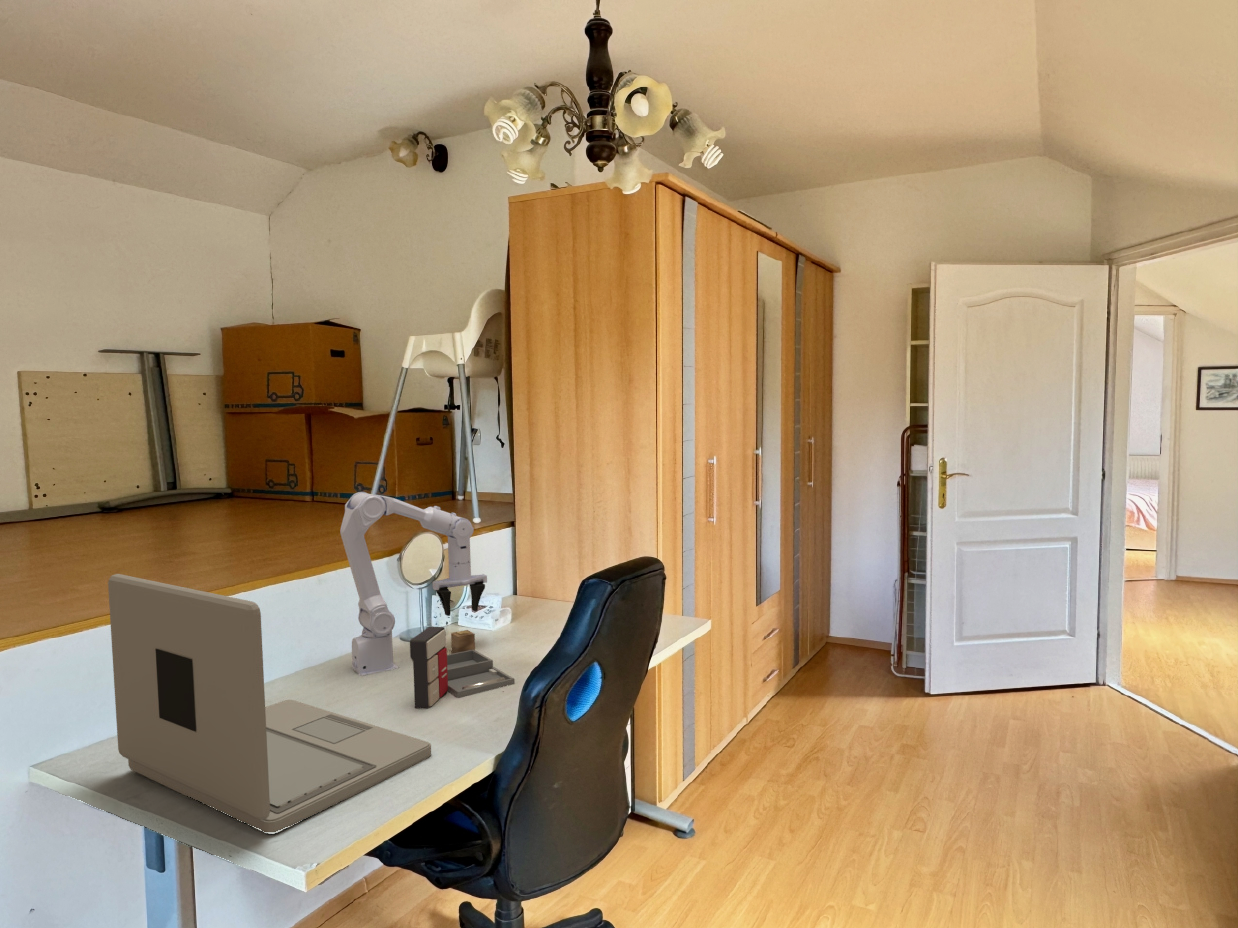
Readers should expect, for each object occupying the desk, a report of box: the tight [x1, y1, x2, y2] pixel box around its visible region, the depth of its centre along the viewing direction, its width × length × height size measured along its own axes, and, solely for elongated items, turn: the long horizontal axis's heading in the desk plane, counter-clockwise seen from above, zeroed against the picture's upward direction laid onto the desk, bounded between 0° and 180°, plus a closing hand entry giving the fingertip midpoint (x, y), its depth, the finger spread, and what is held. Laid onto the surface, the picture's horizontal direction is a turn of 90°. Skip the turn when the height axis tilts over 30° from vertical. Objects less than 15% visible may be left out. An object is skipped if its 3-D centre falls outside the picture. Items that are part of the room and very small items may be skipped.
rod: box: [462, 677, 505, 690], centre depth 179 cm, size 10×1×1 cm, turn 125°
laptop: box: [107, 573, 432, 832], centre depth 141 cm, size 44×34×36 cm
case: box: [447, 649, 494, 681], centre depth 191 cm, size 14×11×3 cm
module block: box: [450, 629, 476, 654], centre depth 203 cm, size 4×4×6 cm
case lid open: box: [447, 666, 516, 699], centre depth 182 cm, size 14×11×2 cm
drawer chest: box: [409, 626, 448, 710], centre depth 173 cm, size 11×4×15 cm, turn 171°
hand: (461, 612), depth 209 cm, fingers open, 7 cm apart
